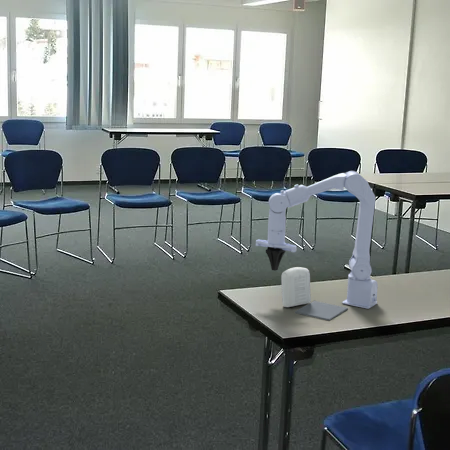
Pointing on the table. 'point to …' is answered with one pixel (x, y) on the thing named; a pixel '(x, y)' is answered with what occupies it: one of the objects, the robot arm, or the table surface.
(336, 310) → the slate mat
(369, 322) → the table surface
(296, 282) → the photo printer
